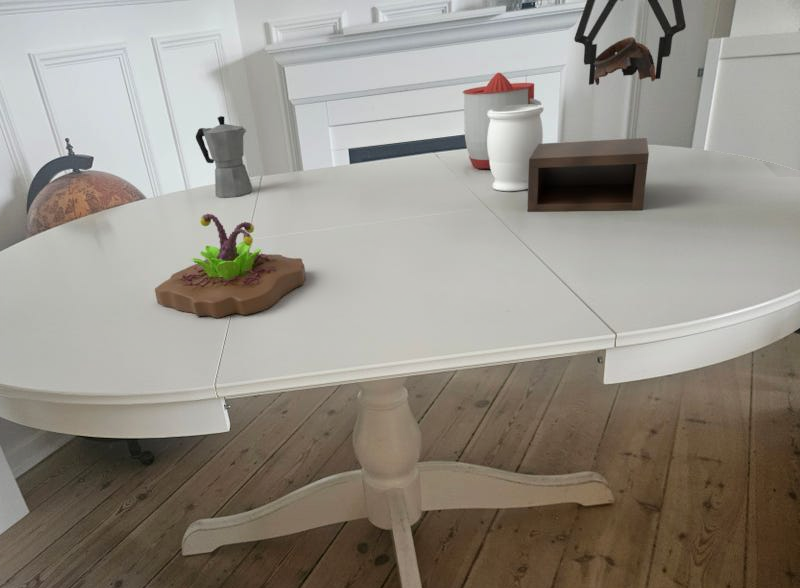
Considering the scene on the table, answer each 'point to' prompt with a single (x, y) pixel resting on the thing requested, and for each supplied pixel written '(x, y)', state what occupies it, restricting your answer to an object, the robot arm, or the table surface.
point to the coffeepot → (226, 158)
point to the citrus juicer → (481, 102)
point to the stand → (588, 175)
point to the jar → (513, 144)
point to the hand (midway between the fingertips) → (623, 81)
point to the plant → (231, 278)
